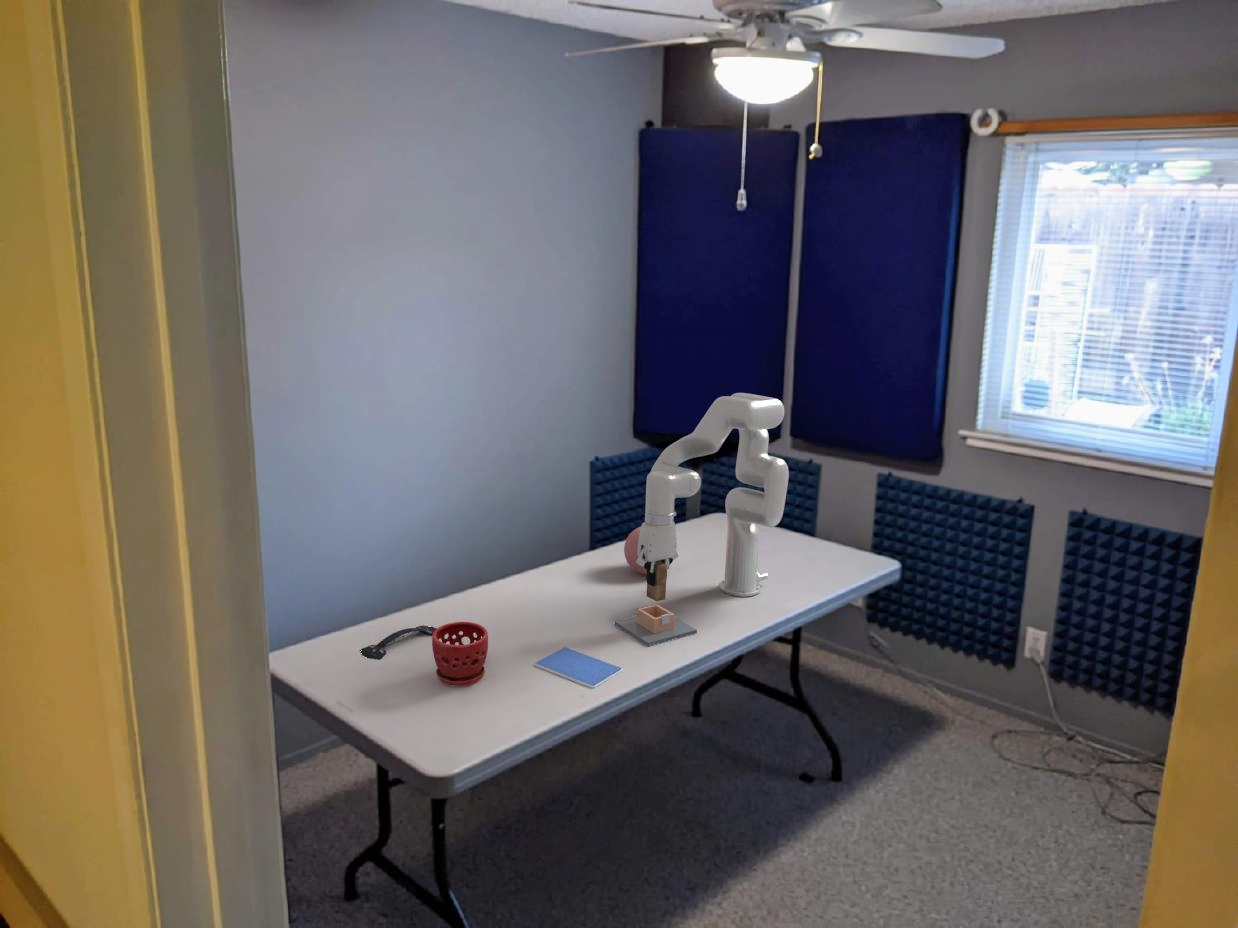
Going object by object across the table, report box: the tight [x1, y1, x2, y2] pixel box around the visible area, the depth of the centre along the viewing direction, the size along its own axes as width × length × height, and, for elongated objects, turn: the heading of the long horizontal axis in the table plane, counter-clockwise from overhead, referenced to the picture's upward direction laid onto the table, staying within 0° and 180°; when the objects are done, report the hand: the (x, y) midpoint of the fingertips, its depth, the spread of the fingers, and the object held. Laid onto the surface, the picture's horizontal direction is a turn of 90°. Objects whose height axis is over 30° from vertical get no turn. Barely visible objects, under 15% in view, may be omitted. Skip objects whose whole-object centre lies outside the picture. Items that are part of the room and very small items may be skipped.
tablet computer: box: [533, 646, 624, 690], centre depth 234 cm, size 19×13×1 cm, turn 53°
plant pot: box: [431, 621, 489, 687], centre depth 226 cm, size 13×13×12 cm
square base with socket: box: [614, 603, 698, 647], centre depth 257 cm, size 16×16×6 cm
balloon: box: [623, 526, 660, 576], centre depth 298 cm, size 15×20×15 cm
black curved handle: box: [359, 625, 438, 661], centre depth 246 cm, size 9×25×3 cm, turn 141°
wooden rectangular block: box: [646, 561, 668, 602], centre depth 254 cm, size 3×4×10 cm, turn 34°
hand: (656, 582), depth 254 cm, fingers closed on wooden rectangular block, 3 cm apart
